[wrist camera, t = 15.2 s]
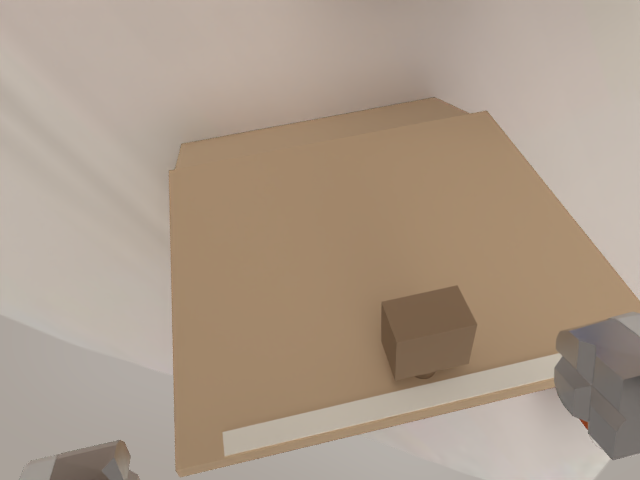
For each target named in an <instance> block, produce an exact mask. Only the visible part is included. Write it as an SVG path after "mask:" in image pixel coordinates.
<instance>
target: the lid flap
mask: <svg viewBox="0 0 640 480" xmlns="http://www.w3.org/2000/svg"><path fill="white" fill-rule="evenodd" d="M169 200H170V244H171V289H172V334H173V378H174V422H175V463H176V464H175V465H176V466H175V467H176V472H177V473H178V475H179V476H180V477H184V476H188V475H192V474H196V473H200V472H205V471H208V470H213V469H217V468H221V467H225V466H229V465H233V464H238V463H242V462H246V461H250V460H254V459H259V458H263V457H267V456H271V455H275V454H279V453H284V452H288V451H292V450H296V449H300V448H304V447H308V446H313V445H317V444H321V443H325V442H329V441H333V440H337V439H342V438H345V437H350V436H354V435H358V434H362V433H367V432H371V431H375V430H379V429H383V428H387V427H392V426H396V425H400V424H404V423H408V422H412V421H416V420H421V419H425V418H429V417H433V416H437V415H441V414H446V413H450V412H454V411H458V410H462V409H466V408H471V407H475V406H479V405H483V404H487V403H491V402H495V401H500V400H504V399H508V398H512V397H516V396H520V395H525V394H529V393H533V392H537V391H541V390H545V389H549V388H554V387H555V383H554V367H555V366H556V365H557V363H558V362H559V360H560V359H561V357H562V355H561V354H560V353H559V352H558V351H557V350H556V338H557V336H558V334H559V332H560V331H562V330H566V329H570V328H574V327H577V326H581V325H585V324H589V323H593V322H597V321H601V320H605V319H608V318H611V317H614V316H618V315H622V314H625V313H629V312H636V313H640V301H639V300H638V298H637V297H636V296H635V295H634V293H633V292H632V291H631V290H630V288H629V287H628V286H627V285H626V283H625V282H624V281H623V280H622V278H621V277H620V276H619V275H618V273H617V272H616V271H615V270H614V268H613V267H612V266H611V265H610V263H609V262H608V261H607V260H606V258H605V257H604V256H603V255H602V253H601V252H600V251H599V250H598V248H597V247H596V246H595V245H594V243H593V242H592V241H591V240H590V239H589V237H588V236H587V235H586V234H585V232H584V231H583V230H582V229H581V227H580V226H579V225H578V224H577V222H576V221H575V220H574V219H573V217H572V216H571V215H570V214H569V212H568V211H567V210H566V209H565V207H564V206H563V205H562V204H561V202H560V201H559V200H558V199H557V197H556V196H555V195H554V194H553V192H552V191H551V190H550V189H549V187H548V186H547V185H546V184H545V182H544V181H543V180H542V179H541V177H540V176H539V175H538V174H537V172H536V171H535V170H534V169H533V168H532V166H531V165H530V164H529V163H528V161H527V160H526V159H525V158H524V156H523V155H522V154H521V153H520V151H519V150H518V149H517V148H516V146H515V145H514V144H513V143H512V141H511V140H510V139H509V138H508V136H507V135H506V134H505V133H504V131H503V130H502V129H501V128H500V126H499V125H498V124H497V123H496V121H495V120H494V119H493V118H492V116H491V115H490V114H489V113H488V111H482V112H477V113H472V114H466V115H461V116H456V117H450V118H445V119H440V120H434V121H429V122H424V123H419V124H413V125H408V126H403V127H397V128H392V129H387V130H381V131H376V132H371V133H365V134H360V135H355V136H350V137H344V138H339V139H334V140H328V141H323V142H318V143H312V144H307V145H302V146H297V147H291V148H286V149H281V150H275V151H270V152H265V153H259V154H254V155H249V156H244V157H238V158H233V159H228V160H222V161H217V162H212V163H206V164H201V165H196V166H191V167H185V168H180V169H175V170H169Z"/></svg>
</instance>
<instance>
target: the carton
mask: <svg viewBox="0 0 640 480" xmlns="http://www.w3.org/2000/svg"><path fill="white" fill-rule="evenodd" d="M466 114H470V113H468V112H466V111H463V110H461V109H459V108H457V107H455V106H453V105H450V104H448V103H446V102H444V101H442V100H439V99H437V98H435V97H433V98H428V99H422V100H417V101H411V102H406V103H400V104H395V105H390V106H384V107H379V108H373V109H368V110H363V111H357V112H352V113H346V114H341V115H335V116H330V117H325V118H319V119H314V120H308V121H303V122H297V123H292V124H287V125H281V126H276V127H270V128H265V129H260V130H254V131H249V132H243V133H238V134H232V135H227V136H222V137H216V138H211V139H205V140H200V141H195V142H189V143H184V144H181V148H180V152H179V156H178V159H177V163H176V167H175V169H180V168H185V167H191V166H196V165H201V164H206V163H212V162H217V161H222V160H228V159H233V158H238V157H244V156H249V155H254V154H259V153H265V152H270V151H275V150H281V149H286V148H291V147H297V146H302V145H307V144H312V143H318V142H323V141H328V140H334V139H339V138H344V137H350V136H355V135H360V134H365V133H371V132H376V131H381V130H387V129H392V128H397V127H403V126H408V125H413V124H419V123H424V122H429V121H434V120H440V119H445V118H450V117H456V116H461V115H466Z"/></svg>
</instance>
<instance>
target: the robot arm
mask: <svg viewBox="0 0 640 480" xmlns="http://www.w3.org/2000/svg"><path fill="white" fill-rule="evenodd" d="M556 350H557V351H558V352H559V353H560V354H561V355H562V357H561V359H560V360H559V362H558V363H557V365H556V366H555V367H554V383H555V387H556V390H557V393H558V396H559V398H560V400H561V401H562V403H563V405H564V406H565V408H566V409H567V410H568V411H569V412H570V413H571V415H572V416H574V417H576V418H579V419H581V420H584V421H586V422H588V434H589V435H590V436H591V437H592V438H593V439H594V440H595V441H596V442H597V444H598V445H599V446H600V447H601V448H602V449H603V450H604V451H605V452H606V453H607V455H608V456H609V457H610V458H611V459H612V460H616V459H620V458H624V457H627V456H631V455H635V454H639V453H640V313H636V312H629V313H625V314H622V315H618V316H614V317H611V318H608V319H605V320H601V321H597V322H593V323H589V324H585V325H581V326H577V327H574V328H570V329H566V330H562V331H560V332H559V334H558V336H557V338H556ZM129 464H130V454H129V451H128V449H127V447H126V444H125V442H123V441H121V440H117V441H113V442H108V443H104V444H99V445H95V446H91V447H86V448H82V449H77V450H73V451H68V452H64V453H61V454H58V455H53V456H49V457H44V458H40V459H35V460H31V461H30V462H29V463H28V464H27V465H26V466H25V467H24V469H23V471H22V474H21V476H20V479H19V480H140V479H139V476H138V474H136V473H134V472H132V471H130V470H129Z"/></svg>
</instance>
